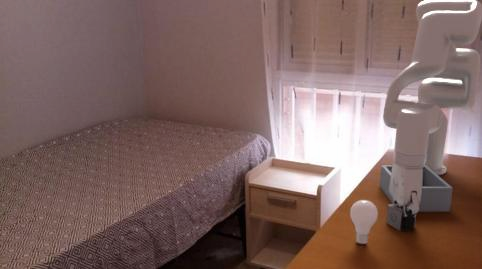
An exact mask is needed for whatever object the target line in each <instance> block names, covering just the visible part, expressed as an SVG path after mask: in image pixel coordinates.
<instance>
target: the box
mask: <svg viewBox="0 0 482 269" xmlns="http://www.w3.org/2000/svg"><path fill="white" fill-rule="evenodd" d="M392 167H393V164H392V165H390V164H389V165H388V164H387V165H386V164H385V165H383V164H381V165H380V175H379V176H380V177H379V188H380V189H381V190H382V192H383V193H384V194H385V195H386V197H387V198H388V199H389V201H390V202H391V204H395V203H393V196H392V195H391V194H390V192H389V185H390V179H391V172H392ZM453 189H454V188H453V186H452V185H451V184H449V183H448V182H446V181H445V180H444V179H443V178H442V177H441V176H440V175H437V174H436V173H435V172H434V171H432V170H431V169H430V168H429V167H428V166H427V165H425V166H424V167H423V178H422V193H421V200H420V204H419V205H418V206H419V211H418V212H417V213H419V212H420V213H421V212H426V213H429V212H431V213H432V212H437V213H438V212H442V213H443V212H444V213H445V212H450V210H451V204H452V196H453ZM407 204H411V202H408V203H407Z"/></svg>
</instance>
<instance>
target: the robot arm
mask: <svg viewBox="0 0 482 269" xmlns="http://www.w3.org/2000/svg"><path fill="white" fill-rule="evenodd" d="M415 15H416V20H417V22H418V26H417V30H416V31H417V32H416V38H415V42H414V48H413V53H412V58H411V62H410V64H409V65H408V66H407V67H405V68H404V69H403V70H402V71H400V72H399V73H398V74H397V75H396V76H395V78H394V79H393V80H392V82H391V84H390V85H389V87H388V90H387V93H386V98H385V104H384V109H383V113H382V118H383V119H382V120H383V123H384V125H385V126H387V127H388V128H390V129H394V130H396V131H395V137H394V138H395V140H394V151H393V159H392V162H393V163H392V165H393V167H392V172H391V179H390V185H389V192H390V194H391V195H392V196H393V203H398V204H399V205H401V206H403V215H402V218H401V227H400V229H401V231H414V230H415V227H414V223H415V224H416V220H415V217H416V218H417V214H418V213H419V212H418V211H419V206H418V205H419V204H420V200H421V193H422V178H423V167H424V166H425V165H427V166H428V167H429V168H430V169H431V170H432V171H434V172H435V173H436V174H437V175H438V176H442V175H444V174H446V173H447V167H446V166H445V165H444V164H443V162H444V154H445V148H446V146H445V145H446V142H447V140H446V139H447V132H448V125H449V121H448V118H447V116H446V114H445V113H444V111H443V110H442V109H449V110H461V111H468V110H471V109H472V108H473V107H474V105H475V103H476V99H477V93H478V88H479V87H478V85H479V80H480V71H481V55H480V53H479V52H478V50H475V49H472V48H458V47H457V46H456V45H471V44H472V43H474V42H475V41H476V38H477V37H478V34H479V31H480V27H481V24H482V2H480V1H478V0H423V1H421V2H419V3H418V4H417V5H416V9H415ZM419 81H421V82H419ZM416 82H419V85H418V87H417V101H411V100H410V101H409V100H400V99H399V98H400V97H399V96H400V94H401V92H403V90H404V89H405V88H406V87H408V86H410V85H411V84H413V83H416ZM408 202H411V204H407V203H408ZM393 203H392V204H393ZM407 207H411V209H409V210H408V211H407Z"/></svg>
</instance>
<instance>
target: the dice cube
mask: <svg viewBox="0 0 482 269" xmlns="http://www.w3.org/2000/svg"><path fill="white" fill-rule="evenodd" d="M409 209H411V207H407V211H408V210H409ZM402 215H403V206H401V205H399V204H398V203H395V204H393V203H391V204H388V205H387V208H386V219H385V220H386V221H385V223H386V224H388V225H389V226H391V227H393V228H394V229H396V230H397V231H402V230H401V229H400V227H401V218H402ZM416 218H417V216H416V217H415V221H416V220H417V219H416ZM414 228H416V222H415V223H414Z"/></svg>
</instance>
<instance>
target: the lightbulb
mask: <svg viewBox="0 0 482 269" xmlns="http://www.w3.org/2000/svg"><path fill="white" fill-rule="evenodd" d="M349 216H350V218H351V221H352V223H353V224H354V227H355V228H354V229H355V232H356V237H355V238H356V239H355V241H356V243H358V244H359V245H364V244H367V243H368V239H369V233H370V231H371V228H372V227H373V226H374V224H375V223H376V222H377V221H378V218H379V211H378V207H377V206H376V205H375V203H373V202H372V201H370V200H368V199H359V200H357V201H355V202H354V203H353V204H352V206H351V207H350V211H349Z"/></svg>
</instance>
